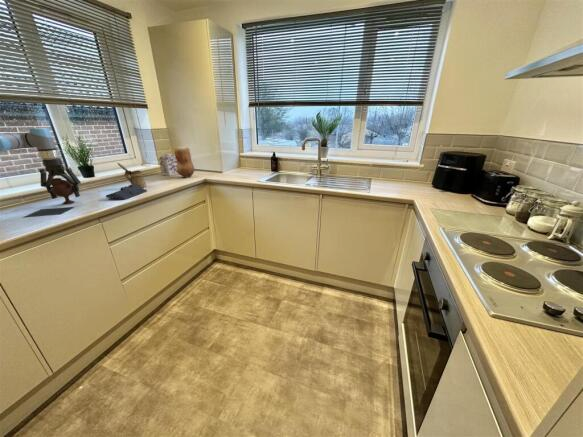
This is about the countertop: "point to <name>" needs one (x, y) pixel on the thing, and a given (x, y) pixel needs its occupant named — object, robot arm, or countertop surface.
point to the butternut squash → (184, 161)
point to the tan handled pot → (134, 177)
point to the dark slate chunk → (127, 192)
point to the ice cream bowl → (62, 189)
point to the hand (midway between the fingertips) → (66, 197)
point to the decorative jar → (168, 164)
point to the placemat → (49, 212)
